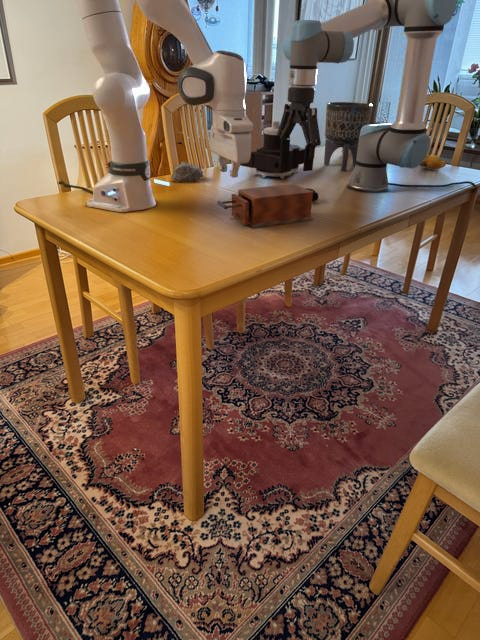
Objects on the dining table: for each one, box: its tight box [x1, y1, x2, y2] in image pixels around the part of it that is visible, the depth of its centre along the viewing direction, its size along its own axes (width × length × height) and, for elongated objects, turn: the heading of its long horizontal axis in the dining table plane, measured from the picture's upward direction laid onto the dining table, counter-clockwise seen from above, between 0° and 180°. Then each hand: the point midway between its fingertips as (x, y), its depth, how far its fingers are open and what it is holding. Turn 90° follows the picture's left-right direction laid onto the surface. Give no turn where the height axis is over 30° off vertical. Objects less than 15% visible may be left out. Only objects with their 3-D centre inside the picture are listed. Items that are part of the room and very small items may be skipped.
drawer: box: [216, 193, 252, 226], centre depth 137 cm, size 24×10×7 cm, turn 115°
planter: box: [323, 101, 374, 172], centre depth 204 cm, size 20×20×26 cm
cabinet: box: [237, 183, 313, 228], centre depth 139 cm, size 20×11×9 cm, turn 115°
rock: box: [170, 161, 204, 183], centre depth 180 cm, size 13×9×6 cm, turn 131°
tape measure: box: [304, 187, 319, 202], centre depth 158 cm, size 7×7×4 cm
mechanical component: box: [240, 120, 305, 179], centre depth 191 cm, size 22×21×30 cm
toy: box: [418, 154, 447, 171], centre depth 211 cm, size 11×6×15 cm
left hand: (228, 174), depth 128 cm, fingers open, 6 cm apart
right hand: (295, 166), depth 136 cm, fingers open, 13 cm apart
